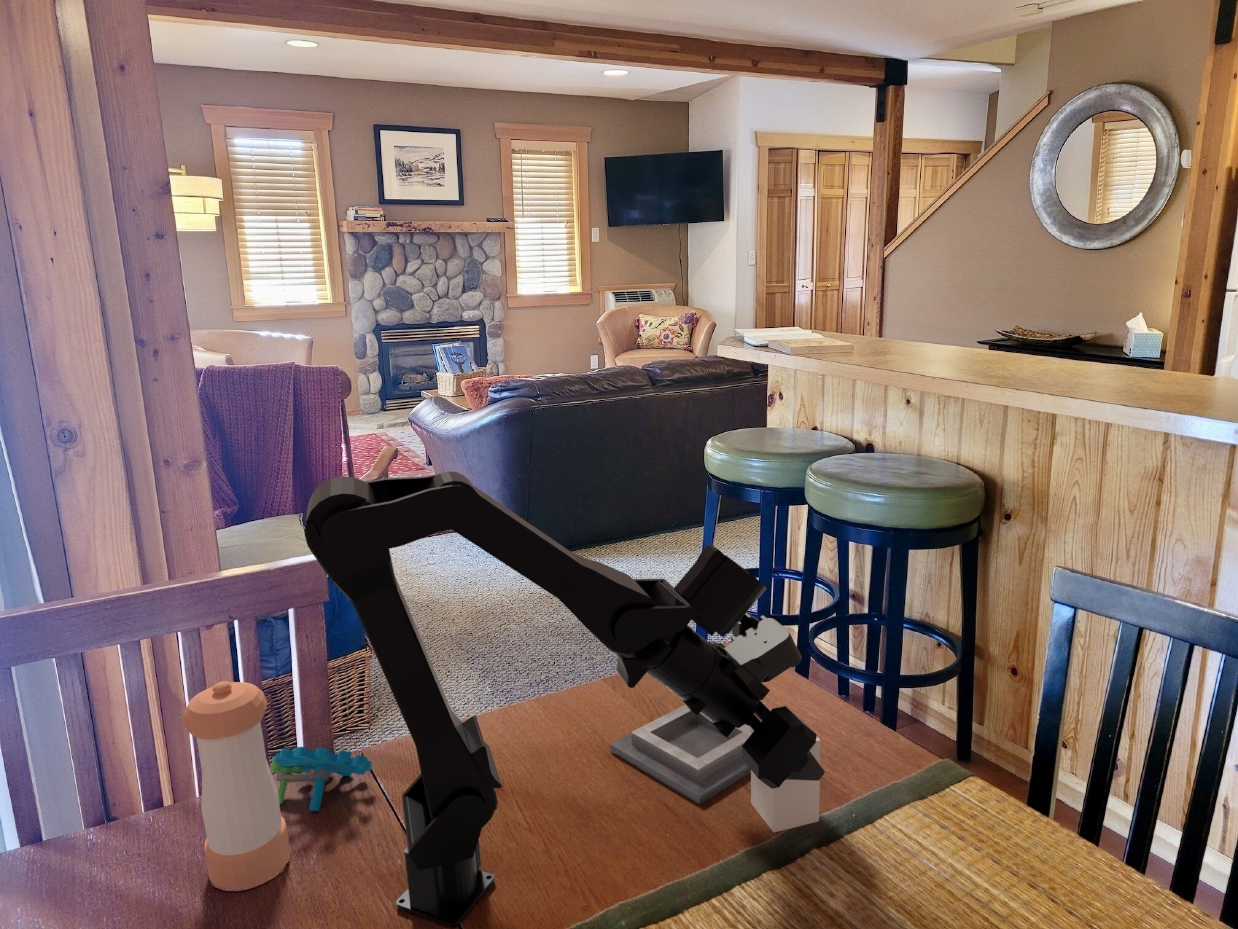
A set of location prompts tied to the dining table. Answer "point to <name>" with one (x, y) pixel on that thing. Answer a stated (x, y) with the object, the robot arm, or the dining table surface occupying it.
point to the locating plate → (686, 753)
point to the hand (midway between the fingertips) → (797, 750)
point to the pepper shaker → (237, 786)
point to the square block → (787, 800)
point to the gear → (315, 769)
